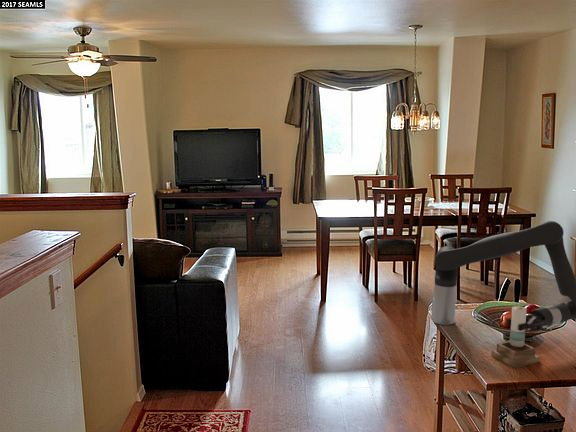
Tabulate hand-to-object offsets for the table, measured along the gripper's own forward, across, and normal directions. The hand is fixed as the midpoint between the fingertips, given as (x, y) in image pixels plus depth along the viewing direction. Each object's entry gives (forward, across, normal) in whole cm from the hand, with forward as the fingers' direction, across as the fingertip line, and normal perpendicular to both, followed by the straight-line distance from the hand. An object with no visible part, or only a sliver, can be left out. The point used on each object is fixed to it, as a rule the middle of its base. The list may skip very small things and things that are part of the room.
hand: (513, 325), depth 215 cm
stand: (-2, 0, +14) cm, 14 cm away
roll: (-3, 0, +8) cm, 8 cm away
